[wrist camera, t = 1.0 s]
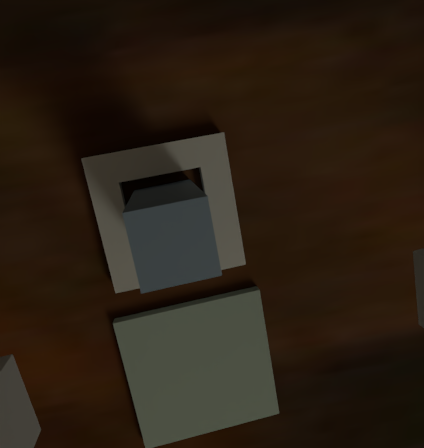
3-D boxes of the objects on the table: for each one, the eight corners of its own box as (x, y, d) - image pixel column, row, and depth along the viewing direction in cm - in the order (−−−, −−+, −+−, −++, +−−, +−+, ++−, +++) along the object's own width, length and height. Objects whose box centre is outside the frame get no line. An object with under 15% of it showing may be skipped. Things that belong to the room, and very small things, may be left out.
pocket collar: (84, 157, 31) (80, 158, 30) (220, 133, 33) (223, 132, 31) (117, 287, 34) (115, 293, 33) (242, 259, 35) (245, 264, 34)
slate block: (134, 190, 33) (122, 213, 21) (189, 179, 33) (207, 196, 22) (146, 243, 34) (141, 293, 22) (199, 232, 34) (222, 275, 23)
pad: (113, 318, 35) (112, 323, 34) (256, 286, 36) (259, 289, 35) (146, 441, 38) (145, 449, 37) (276, 406, 39) (279, 413, 38)
